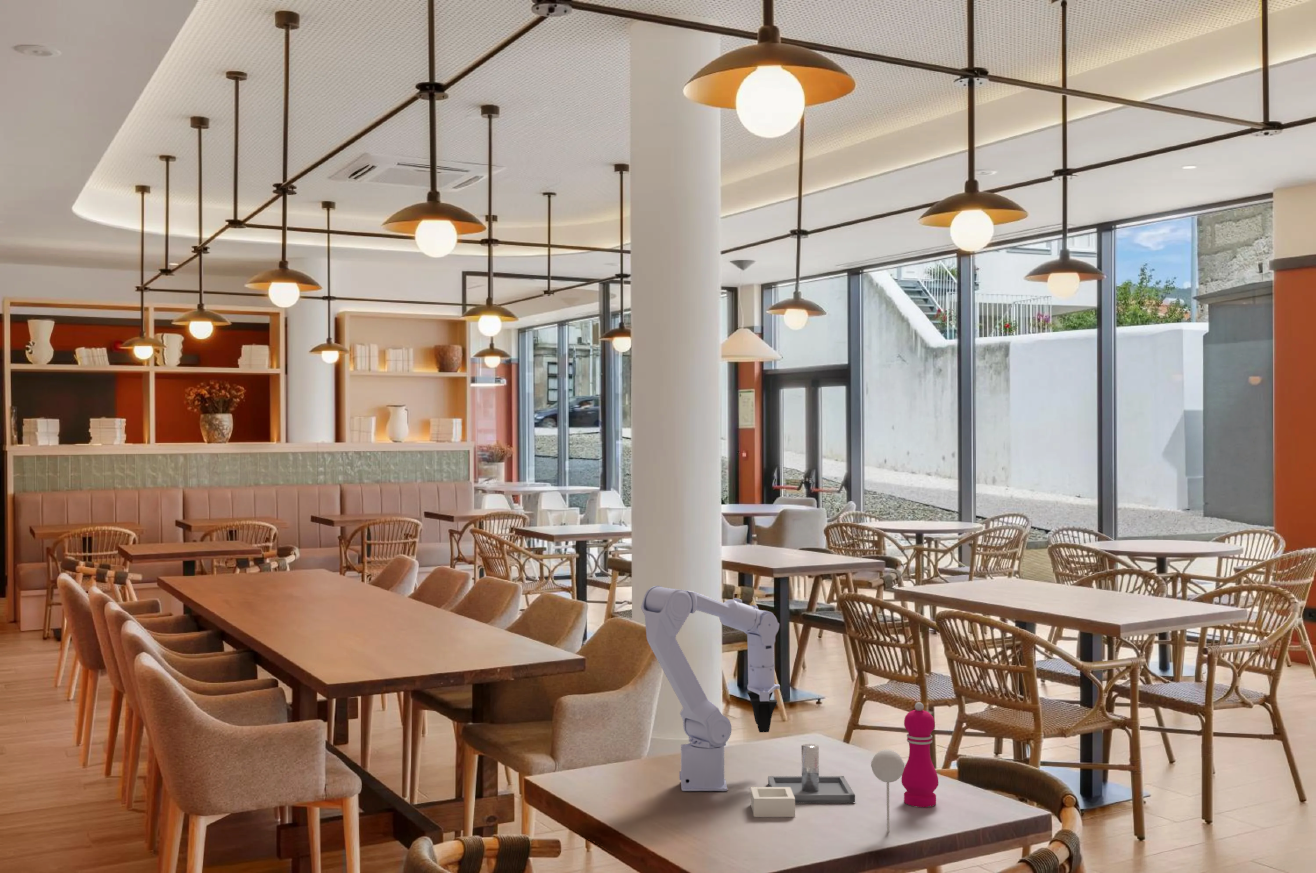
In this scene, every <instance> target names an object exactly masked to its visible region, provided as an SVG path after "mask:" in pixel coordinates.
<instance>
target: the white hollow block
mask: <svg viewBox="0 0 1316 873" xmlns="http://www.w3.org/2000/svg"><path fill="white" fill-rule="evenodd" d="M750 807H751V811H752V814H753V817H754V818H796V803H795V797H794V795H793V792H792V790H791V788H790V787H769V786H755V787H754V786H751V787H750Z"/></svg>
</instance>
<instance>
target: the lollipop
mask: <svg viewBox="0 0 1316 873" xmlns="http://www.w3.org/2000/svg"><path fill="white" fill-rule="evenodd" d="M870 762H871V763H870V767H871V770H872V772H873V775H874V776H875V777H876V778H877V779H878V780H879V781H880V782H884V783H886V833H890V831H891V830H890V783H894V782H896V781H898V780H899V779H901V778H902V774H903V771H904V768H905V762H904V760H903V758H902V756H901V754H899V753H898V752H897V751H895V750H892V749H886V748H885V749H881V750H879V751H878V752H876V753H875V754H874V755H873V757H872V760H871V761H870Z"/></svg>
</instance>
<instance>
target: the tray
mask: <svg viewBox="0 0 1316 873" xmlns="http://www.w3.org/2000/svg"><path fill="white" fill-rule="evenodd" d="M767 784H769V785H768V787H790V788H791V790H792V792H793V795H794V797H795V804H854V803H853V802H855V803H856V795H855V793H854V791H853V789H852V787H851V786H850V784H849V783H848V781H847V780H846V777H845V776H844V775H819V791H818V792H804V791H802V775H788V776H787V775H768V777H767ZM841 802H842V803H841ZM844 802H845V803H844ZM847 802H849V803H847ZM850 802H852V803H850Z"/></svg>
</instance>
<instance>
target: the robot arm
mask: <svg viewBox="0 0 1316 873" xmlns="http://www.w3.org/2000/svg"><path fill="white" fill-rule="evenodd" d="M640 610H642V613H643V615H644V622H645V634H646V640H647V643H648V645H649V647H650V649H651V651H652V652H653V654H654V657H655V658H656V660H657V662H658V665H659V666H660V668H661V669H662V671H663V673H664V675H665V677H666V679H667V681H668V682H669V684H670V686H671V688H672V690H673V691H674V694H675V695H676V697H677V699H678V701H679V703H680V705H681V707H682V709H681V711H680V712H679V715H680V717H681V719H682V725H683V726H682V727H683V732H684V733H685V734H686V735H687V736H688V742H689V743H682V744H680V771H679V781H680V787H681V791H682V792H726V791H727V792H728V785H727V781H726V778H725V746H727V742H728V740H730V737H731V735H732V730H733V729H732V723H731V721H730V719H729V718H728V717H727V716H725V715H724V714H723V713H722V712H721V711H720V709H719V707H718V706H716V704H714V703H713V702H712V701H711V700H709V699H708V697H707V696H706V693H705V692H704V690H703V688H702V686H701V684H700V682H699V680H698V679H697V676H696V675H695V673H694V670H693V669H692V667H691V665H690V663H689V661H688V659H687V658H686V656H685V653H684V652H683V649H682V648H681V646H680V644H679V643H678V640H677V635H678V633H680V630H681V629H682V627H683V625H684V624H685V622H686V621H687V619H688V617H689V615H690V614H695V613H696V611H698V612H701V613H704V614H708V615H711V616H715V617H718V618H719V621H720V623H721V625H723V626H725V627H728V628H731V629H734V630H737V631H740V632H743V633H744V634H746V637H747V638H746V639H747V680H748V681H747V682H748V683H747V687H746V688H747V690H746V693H747V695H748V698H749V701H750V703H751V706H752V711H753V717H754V722H755V724H756V726H757V729H758V732H759V733H769V732H770V728H771V723H772V717H773V713H774V710H775V708H776V705H777V703H778V700H777V699H771V697H772V695H773V693H774V692H775V690H780V689H781V685H780V684H779V683H777V684H776V683H775V643H776V636H777V634H778V632H779V629H780V623H779V622H778V618H777V617H776V615H774V613H773V612H772V611H768V610H764V609H763V610H762V609H759V606H758V605H755V604H752V605H749V604H746V603H744V602H743V599H740V598H736V597H734V598H733V599H727V600H725V601H724V602H722V601H720V600H718V599H714V598H713V597H710V596H707V595H705V594H702V593H700V592H697V591H693V590H687V589H681V588H678V589H677V588H672V587H671V588H670V587H663V586H662V585H661V586H660V585H654V586H651V587H649V589H647V590H646V592H645V594H644V596H643V599H642V603H641V605H640Z"/></svg>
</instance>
